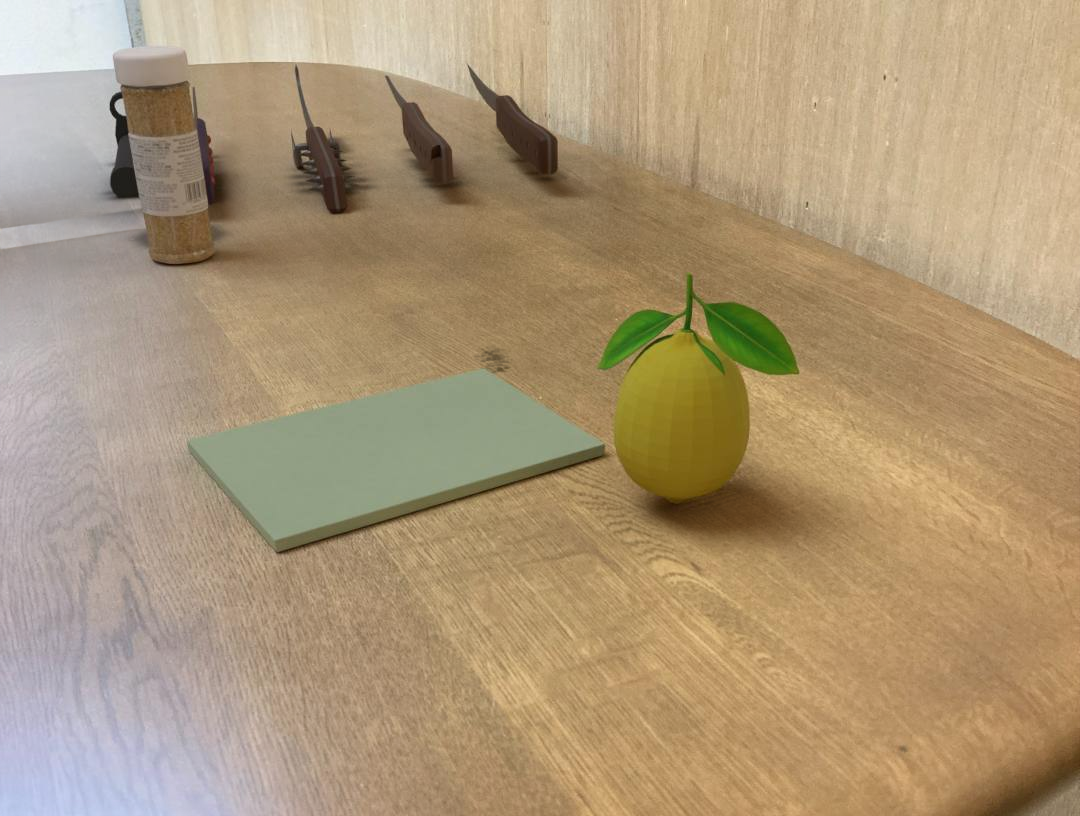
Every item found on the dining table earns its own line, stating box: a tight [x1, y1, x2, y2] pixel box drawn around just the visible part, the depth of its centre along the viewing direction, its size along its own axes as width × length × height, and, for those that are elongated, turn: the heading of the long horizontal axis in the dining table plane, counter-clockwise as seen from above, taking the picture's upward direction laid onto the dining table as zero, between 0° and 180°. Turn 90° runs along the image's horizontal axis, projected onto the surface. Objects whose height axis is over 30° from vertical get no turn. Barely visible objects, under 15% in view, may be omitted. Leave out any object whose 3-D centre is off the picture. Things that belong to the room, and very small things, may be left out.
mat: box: [186, 368, 606, 553], centre depth 53 cm, size 16×11×1 cm
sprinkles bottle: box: [112, 45, 216, 265], centre depth 76 cm, size 5×5×13 cm
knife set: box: [109, 63, 559, 214], centre depth 101 cm, size 35×33×8 cm
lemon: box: [597, 273, 800, 505], centre depth 46 cm, size 7×6×10 cm
